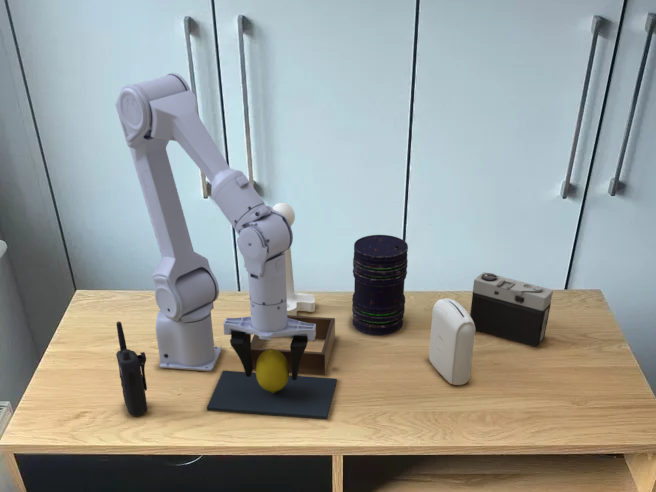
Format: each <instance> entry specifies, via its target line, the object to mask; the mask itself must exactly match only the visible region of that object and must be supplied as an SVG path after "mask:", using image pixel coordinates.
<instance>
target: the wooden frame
mask: <svg viewBox="0 0 656 492" xmlns="http://www.w3.org/2000/svg"><path fill="white" fill-rule="evenodd" d="M287 318H290V319H294V320H297V321H301V322H305V323H311V324H316V336H315V339H316V340H324V342H323V346H322V349H321V351H311V350H310V351H307V350H305V351H304V353H303V355H302V357H301V360H300V364H299V370H298V374H305V375H306V374H307V375H319V376H326V373H327V369H328V365H329V362H330V357H331V355H332V350H333V347H334V344H335V340H336V317H321V316H308V315H307V316H306V315H297V316H293V315H287ZM315 339H314V340H315ZM265 341H266V340H265V339H260V338H259V336H257V335H254V334H253V337H252V338H251V355H252V364H253V371H256V363H257V359H258V357H259V356H260V355H261V354H262V353H263V352H264V351H266V350H269V349H270V348H266V347H265V348H264V347H263V346H264V344H265ZM273 349H274V350H277V351H279V352H281V353H282V354H283V355H284V356H285V358H286V359H287V362H288V366H289V374H290V373H291V374H292V357H291V350H290V349H279V348H273Z"/></svg>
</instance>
